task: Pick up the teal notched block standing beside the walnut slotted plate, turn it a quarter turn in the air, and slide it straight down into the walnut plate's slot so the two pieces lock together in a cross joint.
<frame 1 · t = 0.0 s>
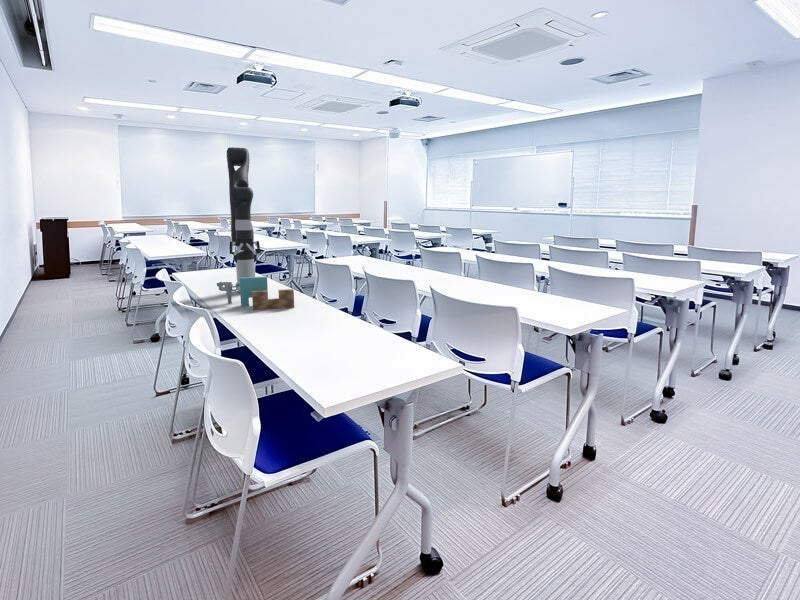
hand: (245, 262, 233), 17 cm above the table, tool pointing down, fingers open, 8 cm apart
mechanical component: (229, 304, 222), on the table
teal notched block: (254, 305, 220), on the table
walnut slotted plate: (273, 307, 215), on the table
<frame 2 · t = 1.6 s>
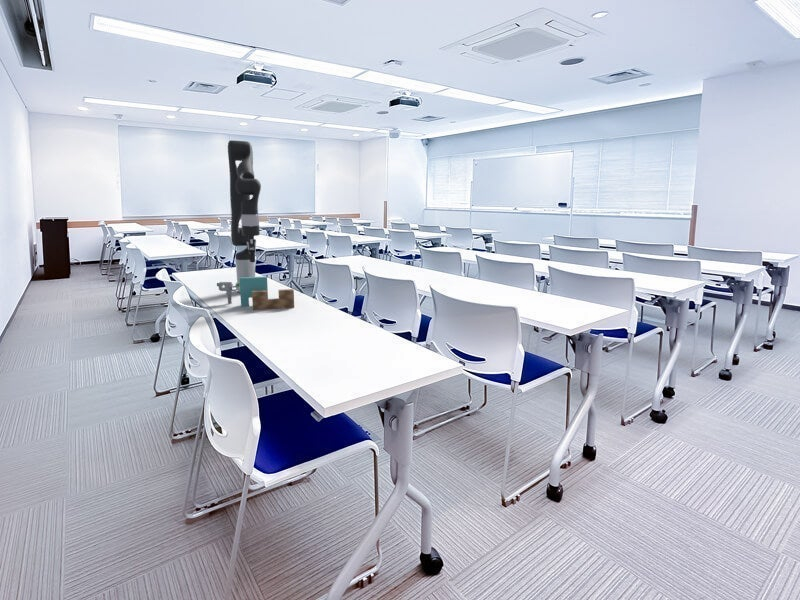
hand: (252, 260, 215), 21 cm above the table, tool pointing down, fingers open, 8 cm apart
nothing on the table moved.
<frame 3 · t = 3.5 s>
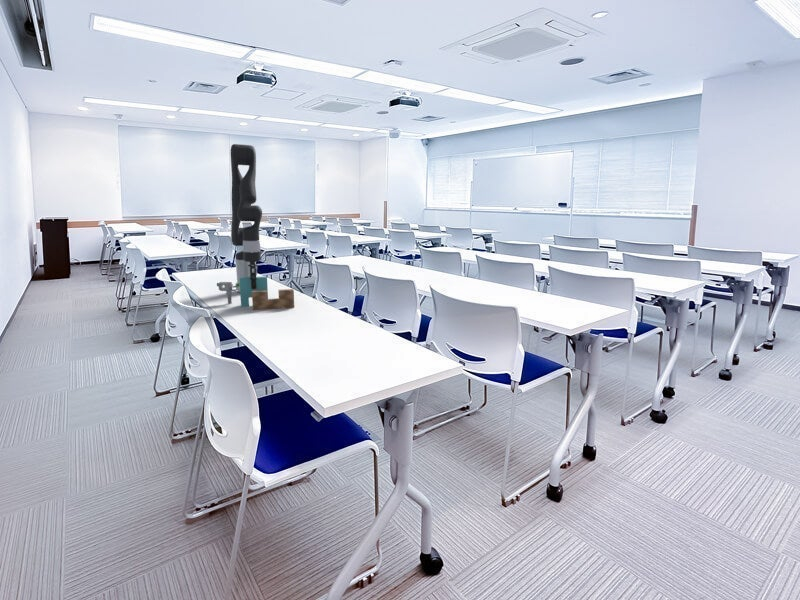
hand: (253, 287, 218), 8 cm above the table, tool pointing down, fingers closed on teal notched block, 3 cm apart
teal notched block: (254, 305, 220), on the table, touching gripper
everything else where it was.
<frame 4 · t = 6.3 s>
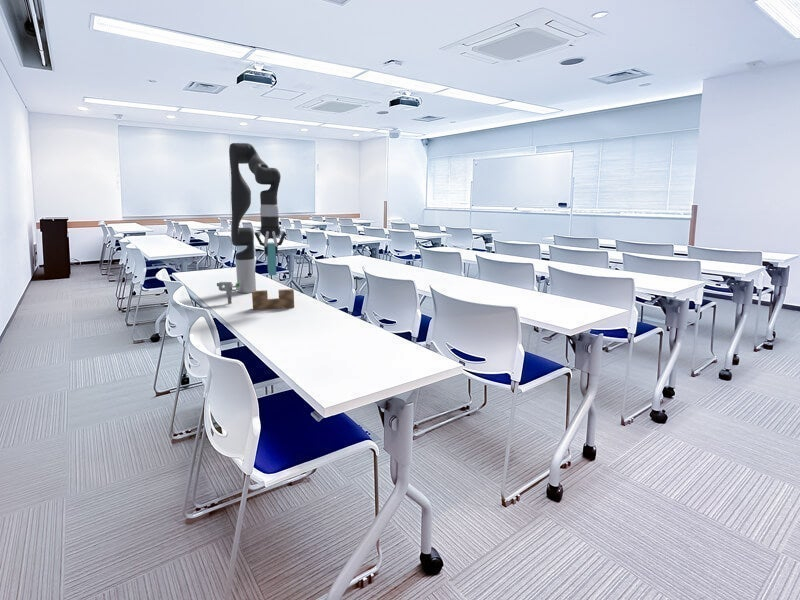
hand: (271, 254, 210), 24 cm above the table, tool pointing down, fingers closed on teal notched block, 3 cm apart
teal notched block: (272, 273, 211), point 16 cm above the table, touching gripper
everything else where it was.
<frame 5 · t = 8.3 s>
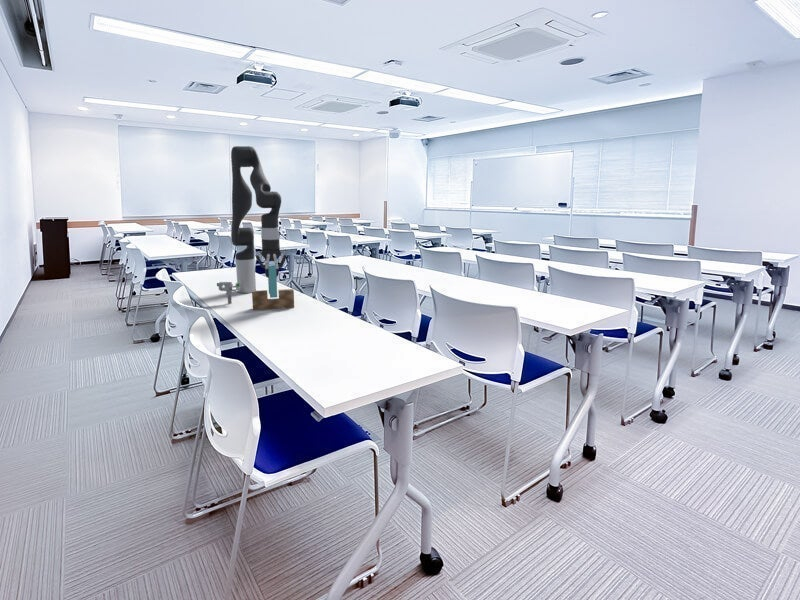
hand: (272, 276, 212), 14 cm above the table, tool pointing down, fingers closed on teal notched block, 3 cm apart
teal notched block: (272, 294, 213), point 6 cm above the table, touching gripper
everything else where it was.
when the fingers open (9 cm above the table, at t = 9.6 s): teal notched block stays where it is, resting on walnut slotted plate.
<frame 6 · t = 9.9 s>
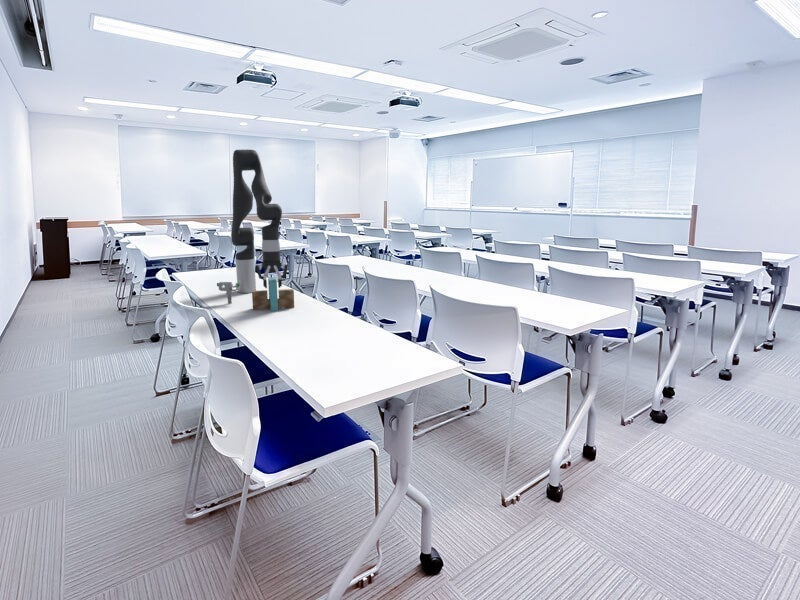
hand: (272, 287, 213), 9 cm above the table, tool pointing down, fingers open, 5 cm apart
teal notched block: (273, 307, 215), resting on walnut slotted plate
everything else where it was.
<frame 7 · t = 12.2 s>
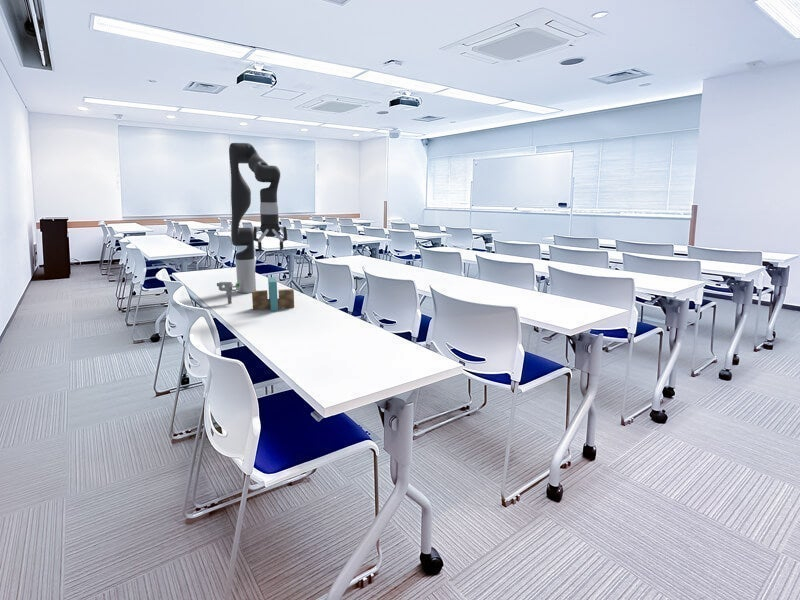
hand: (271, 250, 209), 26 cm above the table, tool pointing down, fingers open, 8 cm apart
nothing on the table moved.
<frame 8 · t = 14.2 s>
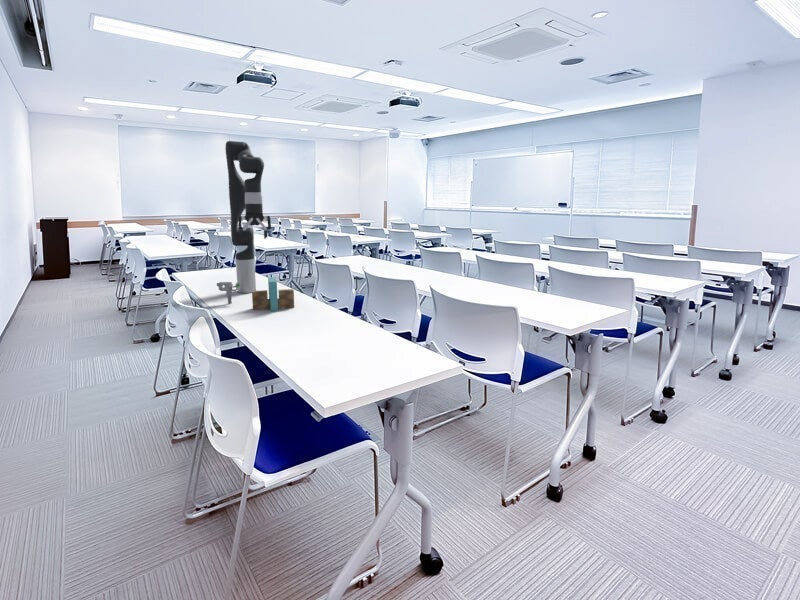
hand: (255, 238, 219), 30 cm above the table, tool pointing down, fingers open, 8 cm apart
nothing on the table moved.
at the end: teal notched block 0.1 cm off-centre on the walnut slotted plate, point 0.0 cm above the walnut slotted plate's base; teal notched block tilted 0°; the gripper is holding nothing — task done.
